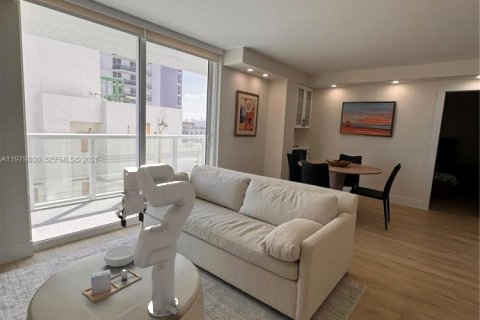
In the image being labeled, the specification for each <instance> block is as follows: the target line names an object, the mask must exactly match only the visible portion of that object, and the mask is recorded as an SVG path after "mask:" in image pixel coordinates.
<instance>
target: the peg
mask: <svg viewBox="0 0 480 320" xmlns="http://www.w3.org/2000/svg"><path fill="white" fill-rule="evenodd" d="M127 270H128V269H127V268H123V269H121V271H120V273H121V281H126V280H127V279H128V278H127Z"/></svg>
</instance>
